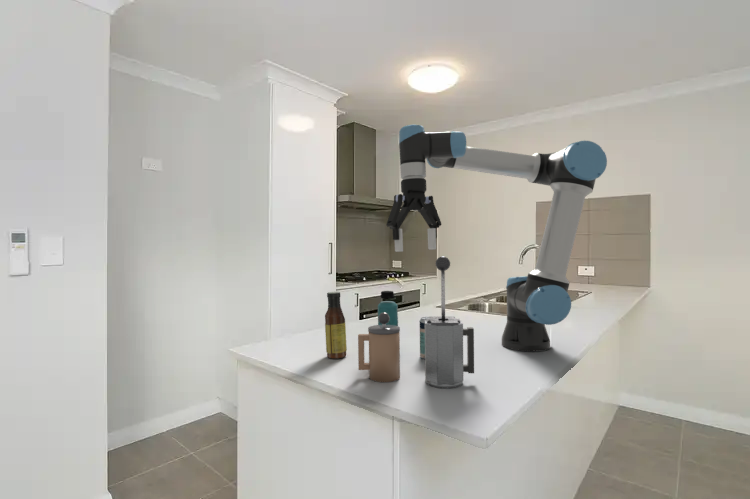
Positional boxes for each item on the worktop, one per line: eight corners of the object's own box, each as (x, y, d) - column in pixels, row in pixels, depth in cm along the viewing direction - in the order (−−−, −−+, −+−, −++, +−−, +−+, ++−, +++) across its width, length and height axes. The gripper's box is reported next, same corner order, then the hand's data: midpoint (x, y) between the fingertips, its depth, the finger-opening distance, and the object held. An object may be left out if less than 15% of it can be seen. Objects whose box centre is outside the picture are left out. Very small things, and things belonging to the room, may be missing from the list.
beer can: (437, 356, 123) (436, 317, 123) (434, 360, 118) (433, 319, 118) (421, 354, 124) (421, 316, 124) (418, 359, 120) (417, 319, 120)
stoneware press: (400, 372, 108) (399, 309, 108) (400, 382, 100) (399, 315, 100) (360, 371, 109) (360, 309, 109) (357, 382, 101) (356, 315, 101)
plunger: (455, 332, 103) (454, 255, 103) (458, 338, 97) (457, 256, 96) (429, 332, 103) (429, 256, 103) (431, 338, 97) (430, 257, 97)
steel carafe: (470, 376, 104) (470, 316, 104) (476, 389, 95) (476, 323, 95) (424, 375, 105) (424, 316, 105) (426, 388, 96) (425, 323, 96)
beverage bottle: (397, 358, 121) (396, 292, 120) (375, 357, 122) (374, 292, 122) (400, 352, 127) (399, 289, 127) (379, 352, 128) (379, 289, 128)
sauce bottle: (350, 355, 125) (349, 291, 125) (340, 360, 119) (339, 293, 119) (332, 352, 128) (331, 290, 128) (321, 358, 122) (320, 293, 122)
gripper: (433, 183, 130) (436, 248, 130) (372, 178, 115) (375, 252, 115) (451, 179, 124) (453, 248, 124) (389, 174, 109) (392, 252, 109)
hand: (416, 250), depth 120 cm, fingers open, 13 cm apart
